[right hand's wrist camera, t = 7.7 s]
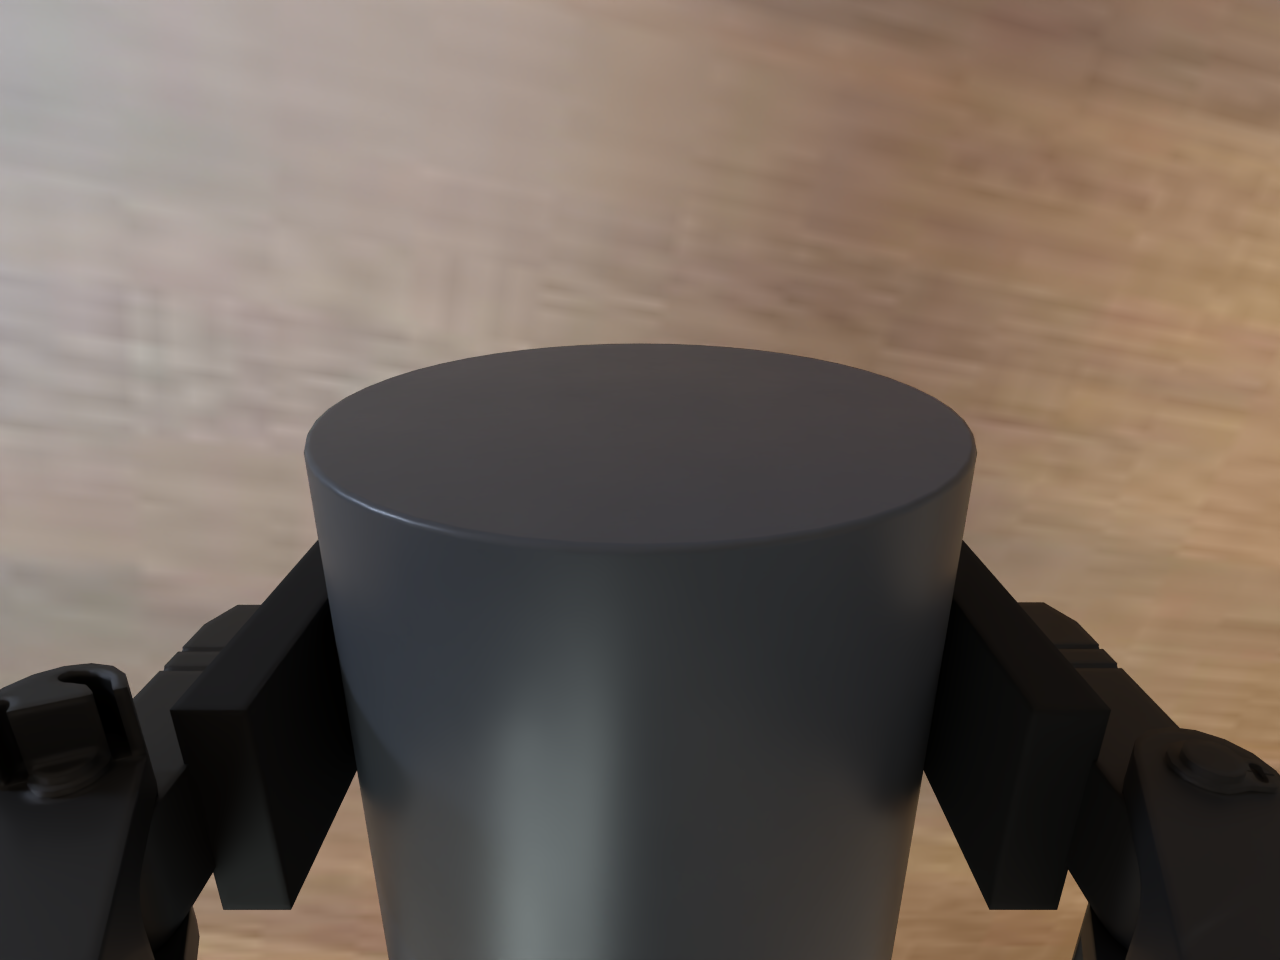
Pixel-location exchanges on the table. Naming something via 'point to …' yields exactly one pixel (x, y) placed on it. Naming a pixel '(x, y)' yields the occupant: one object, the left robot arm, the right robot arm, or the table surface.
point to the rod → (640, 647)
